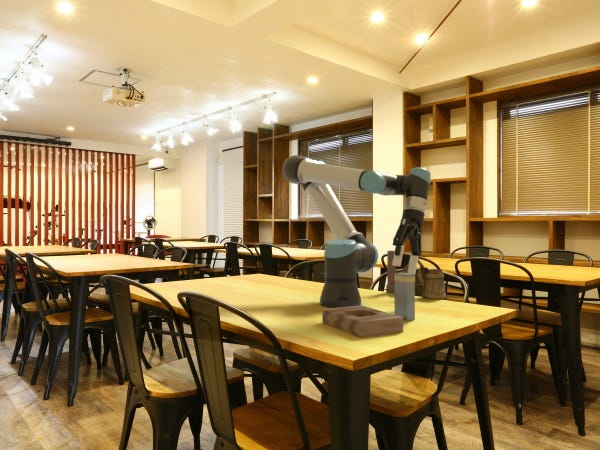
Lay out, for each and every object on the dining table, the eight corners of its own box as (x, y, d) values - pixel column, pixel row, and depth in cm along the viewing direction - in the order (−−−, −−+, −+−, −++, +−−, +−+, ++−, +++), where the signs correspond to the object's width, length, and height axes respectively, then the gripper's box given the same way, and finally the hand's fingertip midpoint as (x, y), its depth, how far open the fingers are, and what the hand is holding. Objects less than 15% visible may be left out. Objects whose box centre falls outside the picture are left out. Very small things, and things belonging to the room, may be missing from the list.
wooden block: (411, 294, 190) (411, 251, 190) (386, 293, 194) (386, 250, 194) (413, 293, 193) (413, 251, 193) (388, 291, 198) (388, 250, 198)
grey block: (394, 317, 145) (394, 272, 145) (402, 316, 146) (402, 272, 146) (407, 320, 139) (407, 274, 139) (414, 319, 141) (415, 274, 141)
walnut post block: (322, 322, 137) (322, 309, 137) (361, 318, 143) (361, 305, 143) (360, 337, 119) (360, 322, 119) (403, 331, 125) (403, 317, 125)
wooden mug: (412, 294, 190) (412, 251, 190) (446, 296, 186) (446, 252, 186) (410, 298, 182) (410, 252, 182) (446, 299, 177) (446, 253, 177)
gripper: (411, 200, 150) (400, 263, 146) (436, 221, 169) (427, 277, 165) (389, 199, 154) (378, 260, 150) (416, 220, 174) (407, 275, 170)
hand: (404, 269), depth 158 cm, fingers open, 13 cm apart
